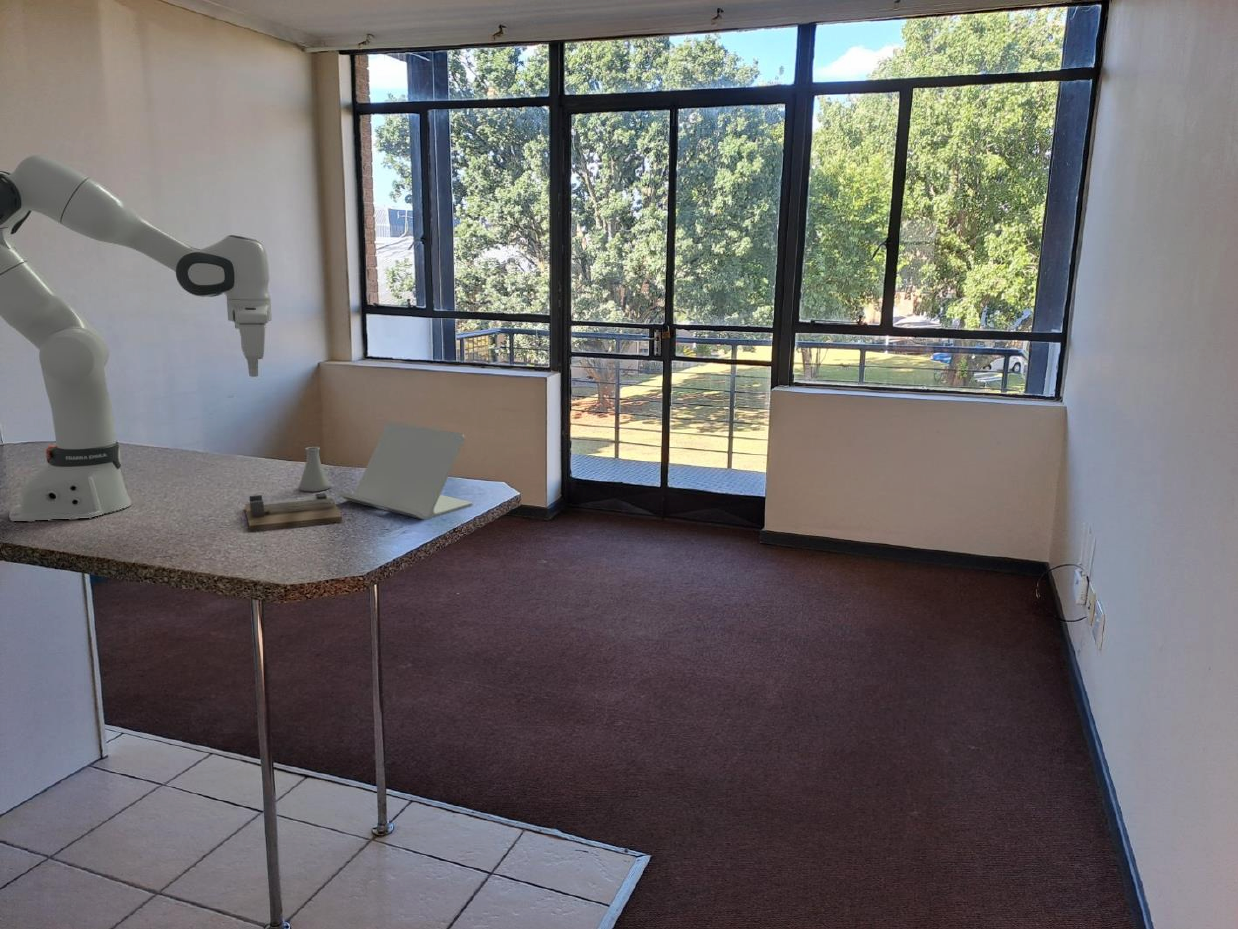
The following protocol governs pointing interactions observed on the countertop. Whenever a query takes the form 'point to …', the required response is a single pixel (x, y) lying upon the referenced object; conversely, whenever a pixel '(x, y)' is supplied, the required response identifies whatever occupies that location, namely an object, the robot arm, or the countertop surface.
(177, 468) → the countertop surface
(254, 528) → the walnut board
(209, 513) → the countertop surface
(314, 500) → the upper tong arm
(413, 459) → the tablet stand
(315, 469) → the flask
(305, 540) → the countertop surface
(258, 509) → the lower tong arm
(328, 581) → the countertop surface
